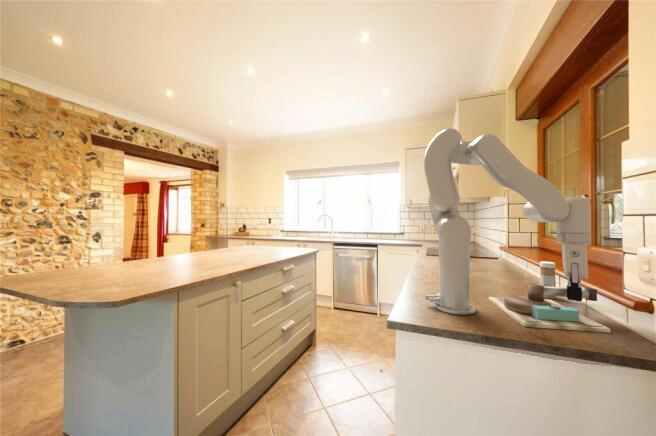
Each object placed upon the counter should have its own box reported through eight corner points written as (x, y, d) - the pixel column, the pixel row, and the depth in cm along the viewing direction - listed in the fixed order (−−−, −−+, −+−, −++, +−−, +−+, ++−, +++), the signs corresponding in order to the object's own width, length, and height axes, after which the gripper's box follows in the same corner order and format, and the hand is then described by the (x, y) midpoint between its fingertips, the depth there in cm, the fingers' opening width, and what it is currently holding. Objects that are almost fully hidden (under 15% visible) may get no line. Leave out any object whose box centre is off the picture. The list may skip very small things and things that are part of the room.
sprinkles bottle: (557, 297, 98) (557, 262, 98) (553, 299, 95) (553, 263, 95) (542, 294, 101) (542, 260, 101) (538, 296, 99) (537, 261, 99)
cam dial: (547, 322, 71) (547, 296, 71) (495, 304, 86) (495, 283, 86) (599, 313, 77) (599, 289, 77) (541, 298, 92) (541, 278, 93)
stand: (523, 326, 72) (523, 322, 72) (488, 299, 96) (488, 296, 96) (610, 332, 68) (610, 328, 68) (550, 302, 92) (550, 299, 92)
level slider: (538, 319, 74) (537, 307, 74) (532, 315, 77) (531, 304, 77) (579, 321, 72) (579, 310, 72) (571, 317, 75) (571, 306, 75)
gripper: (594, 241, 69) (595, 309, 69) (588, 237, 80) (589, 296, 80) (556, 239, 74) (558, 303, 74) (556, 236, 85) (557, 292, 85)
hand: (574, 299), depth 77 cm, fingers closed
